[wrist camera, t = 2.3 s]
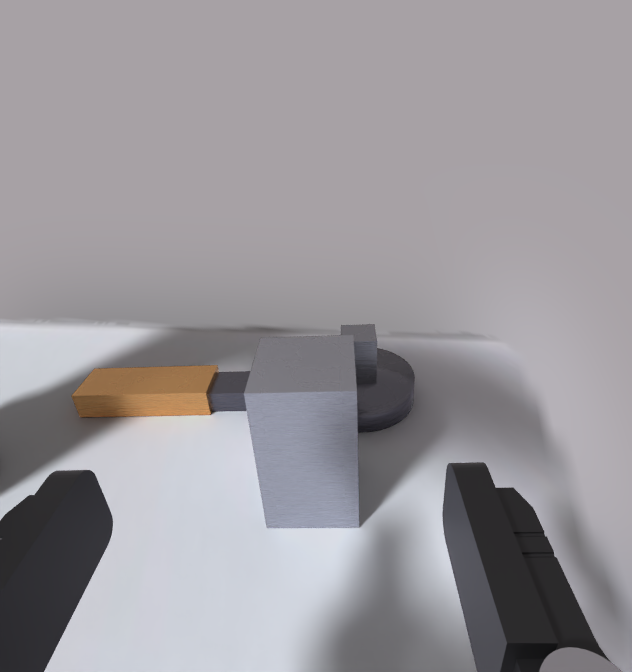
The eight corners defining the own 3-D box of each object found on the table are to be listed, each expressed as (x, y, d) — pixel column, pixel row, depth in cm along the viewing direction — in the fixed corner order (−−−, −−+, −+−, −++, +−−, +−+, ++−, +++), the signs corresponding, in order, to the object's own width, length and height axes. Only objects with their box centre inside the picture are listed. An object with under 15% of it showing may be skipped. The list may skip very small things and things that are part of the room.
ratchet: (64, 437, 32) (36, 373, 29) (113, 373, 39) (94, 317, 36) (421, 431, 30) (426, 362, 28) (405, 366, 37) (408, 306, 35)
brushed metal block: (266, 527, 24) (243, 393, 20) (277, 460, 29) (260, 337, 24) (359, 527, 24) (356, 390, 20) (355, 459, 28) (353, 335, 24)
